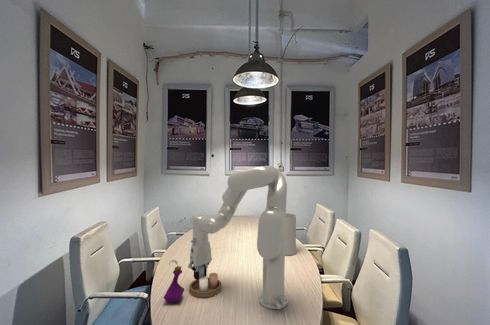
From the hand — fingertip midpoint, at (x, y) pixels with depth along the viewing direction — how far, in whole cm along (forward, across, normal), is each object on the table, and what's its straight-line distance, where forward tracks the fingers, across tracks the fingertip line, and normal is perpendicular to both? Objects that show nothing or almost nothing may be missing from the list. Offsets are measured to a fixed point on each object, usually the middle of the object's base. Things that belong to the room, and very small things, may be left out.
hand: (200, 277), depth 126 cm
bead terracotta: (+4, +3, -6) cm, 8 cm away
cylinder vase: (+5, +68, -4) cm, 68 cm away
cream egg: (+4, -3, -6) cm, 8 cm away
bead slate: (+1, 0, 0) cm, 1 cm away
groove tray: (+5, 0, -4) cm, 6 cm away
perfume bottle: (+5, -15, -2) cm, 16 cm away
